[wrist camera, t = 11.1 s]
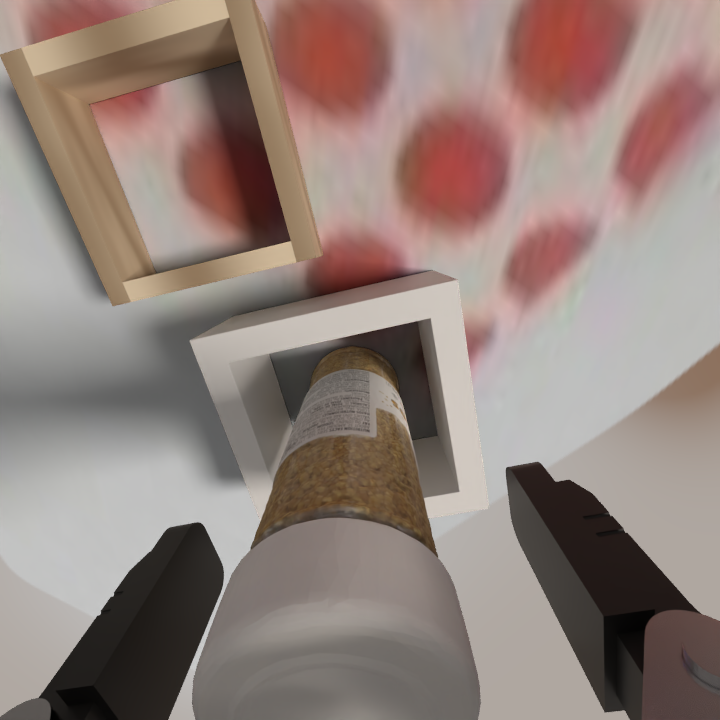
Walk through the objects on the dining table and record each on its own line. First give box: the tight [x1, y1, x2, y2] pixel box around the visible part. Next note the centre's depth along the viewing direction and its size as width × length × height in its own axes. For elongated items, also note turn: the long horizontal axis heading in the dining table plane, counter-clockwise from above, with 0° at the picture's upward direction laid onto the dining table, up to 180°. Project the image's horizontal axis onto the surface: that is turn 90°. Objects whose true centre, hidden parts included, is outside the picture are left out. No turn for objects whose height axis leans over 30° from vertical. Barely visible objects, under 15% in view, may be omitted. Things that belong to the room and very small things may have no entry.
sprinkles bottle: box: [192, 346, 480, 720], centre depth 12 cm, size 5×5×14 cm
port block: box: [190, 270, 489, 522], centre depth 16 cm, size 10×10×4 cm
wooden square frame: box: [0, 0, 323, 306], centre depth 14 cm, size 9×9×2 cm
